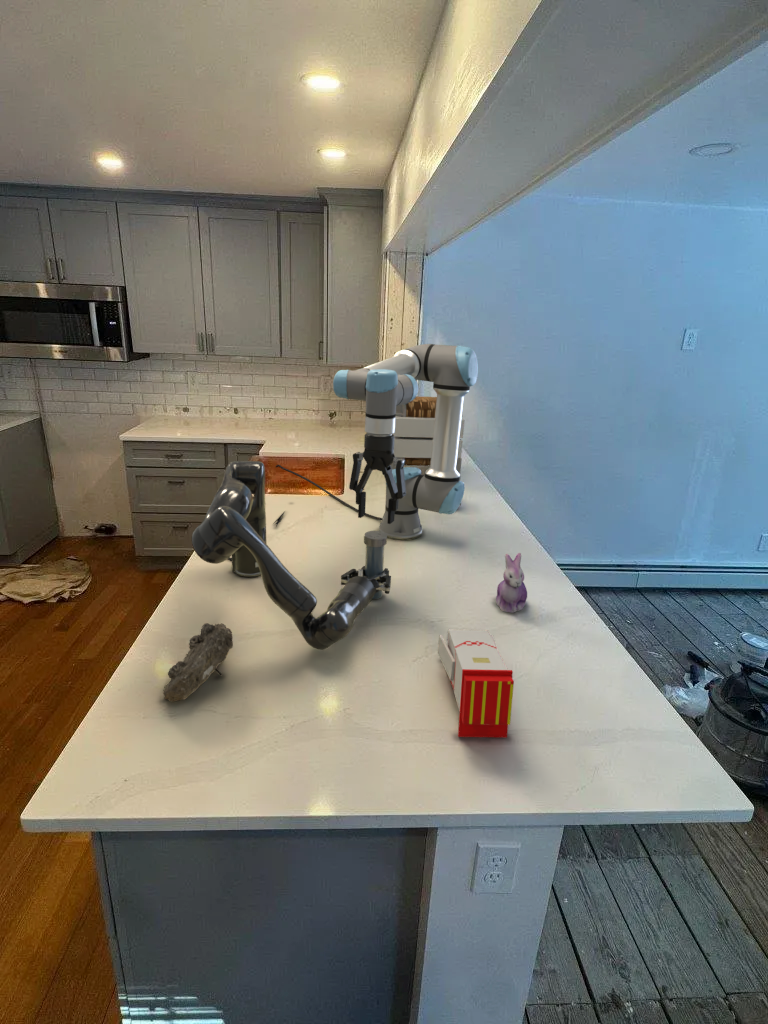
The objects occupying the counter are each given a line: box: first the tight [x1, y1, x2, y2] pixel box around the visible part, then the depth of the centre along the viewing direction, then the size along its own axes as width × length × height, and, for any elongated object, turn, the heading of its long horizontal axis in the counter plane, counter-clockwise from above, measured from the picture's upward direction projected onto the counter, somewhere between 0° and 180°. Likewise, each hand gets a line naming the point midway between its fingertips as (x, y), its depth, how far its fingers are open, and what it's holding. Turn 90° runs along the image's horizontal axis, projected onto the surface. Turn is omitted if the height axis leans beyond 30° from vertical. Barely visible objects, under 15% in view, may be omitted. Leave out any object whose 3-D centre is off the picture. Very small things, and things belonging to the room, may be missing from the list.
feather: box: [272, 510, 286, 528], centre depth 212 cm, size 2×28×2 cm
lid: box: [363, 530, 388, 547], centre depth 151 cm, size 6×6×2 cm
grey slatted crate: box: [391, 395, 465, 481], centre depth 268 cm, size 34×33×41 cm
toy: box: [437, 628, 515, 738], centre depth 117 cm, size 12×13×30 cm
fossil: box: [162, 622, 234, 703], centre depth 119 cm, size 22×10×15 cm
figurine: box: [495, 552, 528, 614], centre depth 152 cm, size 9×10×15 cm
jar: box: [364, 544, 385, 600], centre depth 154 cm, size 5×5×18 cm
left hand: (377, 569), depth 157 cm, fingers closed on jar, 5 cm apart
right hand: (376, 519), depth 149 cm, fingers open, 8 cm apart
